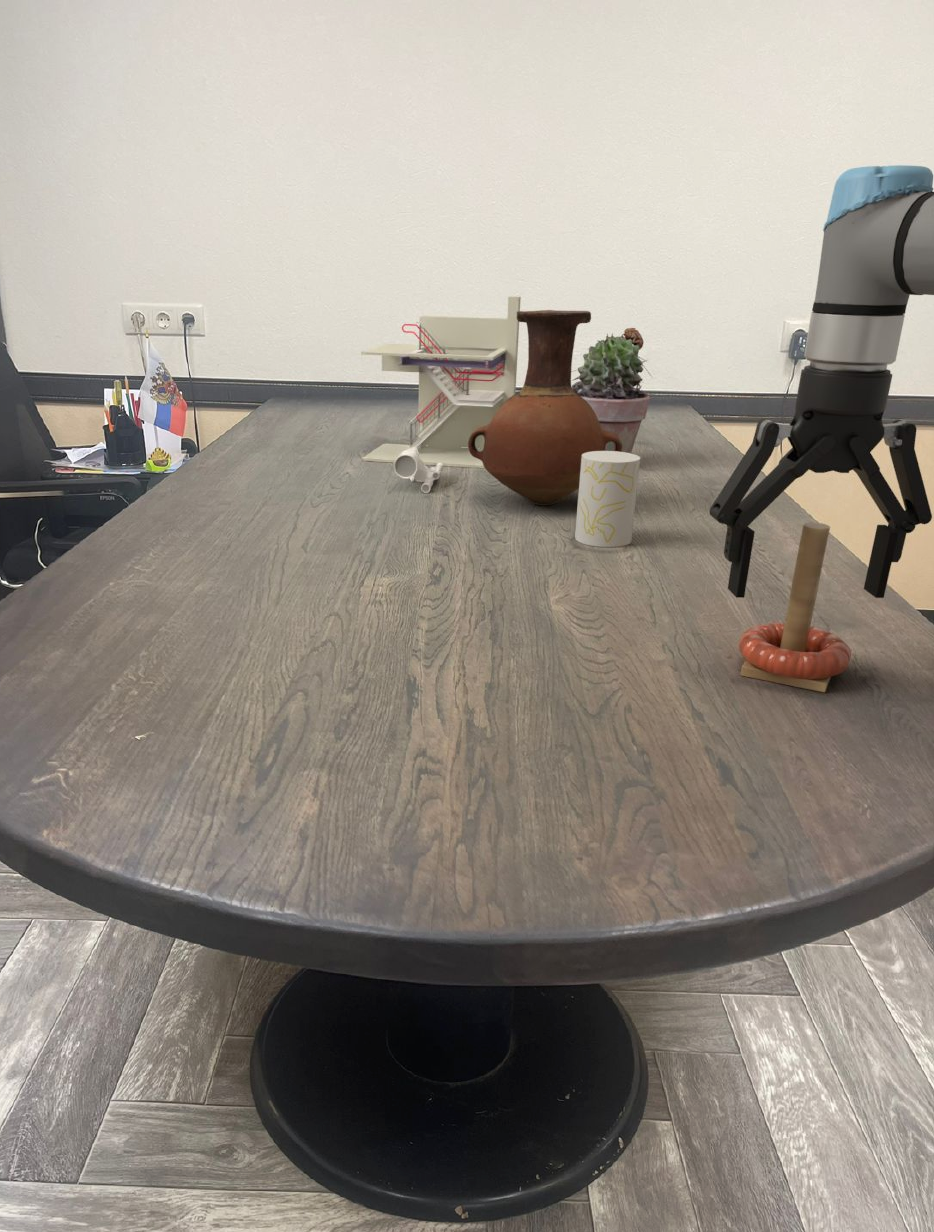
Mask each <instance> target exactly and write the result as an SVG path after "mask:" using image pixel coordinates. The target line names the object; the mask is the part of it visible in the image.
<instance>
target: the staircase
mask: <svg viewBox="0 0 934 1232" xmlns="http://www.w3.org/2000/svg"><path fill="white" fill-rule="evenodd" d="M507 297H508V299H507V318H503V317H474V316H473V317H471V316H437V315H420V316H419V321H416V324H415V323H404V324H403V325H402V326H401V331H402V332H403V333H406V334H408V333H409V334H414V335H415V337H416V338H417V339H418V344H402V343H401V344H400V343H384V344H381V345H378V346H375V347H372V348H369V349H365V350H362V351H361V352H360V354H361V356H362V355H364V356H366V355H367V356H368V355H369V356H381V372H402V373H403V372H404V373H418V411H417V412H418V413H417V414H416V415H415V416H414V417H413V418H412V419H411V420H410V421H409V422H408V425H410V426H409V427H410V428H409V430H410V432H409V444H399V443H383V444H381V445H379V446H378V447H377V448H375V449H373V450H372V451H371V452H369V453H367V454H366V455H364V456H363V457H362V458H361V461H362V462H363V461H364V462H376V463H377V462H378V463H391V464H394V462H395V460H396V459H397V458H398V456H399V455H400V453H402V452H403V451H405V450H408V449H410V448H413V447H417V448H418V450H419V451H418V452H419V458H420V459H421V460H422V461H423V463H424V464H426V466H436V465H437V464H438V463H442V464H443V467H454V468H455V467H456V468H470V469H471V468H472V469H485V467H484V466H483V462H482V461H481V460H480V459H477V458H475V457H473V456H472V455H471V454H470V451H469V448H461V447H468V441H469V438H470V436H471V434H472V433H473V432H474V431H475V430H476V429H477V428H480V427H483V426H487V425H488V424H489V423H490V422H491V420H492V418H493V416H494V415H495V413H496V412H497V410H498V409H499V408H500V406H501V405H502V404H503V403H504V402H505V401H506V400H508V399H509V398H510V397H512V396H513V395H514V394H516V392H517V391H516V390H517V389H516V388H517V371H518V353H519V335H520V322H518V320H517V311H521V296H507ZM418 324H419V325H418ZM405 326H410V327H417V329H418V334H419V335H418V334H417V333H416V332H415V331H412V330H408V331H407V330H404V327H405ZM413 421H415V422H414V423H412V422H413ZM417 422H418V423H417ZM413 426H414V427H415V428H414V431H415V432H414V438H413ZM416 438H417V439H416ZM415 439H416V441H414V440H415ZM413 441H414V442H413ZM484 442H485V440H484V436H483V435H479V436H477V438H476V439H475V446H476V449H477V450H478V451H479V452H480V451H483V449H484ZM420 445H421V446H420ZM426 445H428V446H426ZM478 448H480V449H478Z"/></svg>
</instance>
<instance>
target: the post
mask: <svg viewBox="0 0 934 1232" xmlns="http://www.w3.org/2000/svg"><path fill="white" fill-rule="evenodd" d="M830 529H831V526H830V525H829V524H826V523H822V522H815V521H813V522H812V521H809V522H804V523H803V524H802V529H801V535H800V539H799V544H798V549H797V550H798V551H797V555H796V561H795V566H794V571H793V576H792V582H791V587H790V593H789V598H788V603H787V609H786V614H785V619H784V623H785V624H784V630H783V635H782V641H781V646H780V648H782V649H787V650H792V651H798V652H807V651H806V646H807V641H808V636H809V631H810V626H811V625H812V620H813V615H814V610H815V605H816V600H817V595H818V591H819V586H820V580H821V576H822V570H823V565H824V560H825V556H826V555H825V554H826V550H827V545H828V540H829V536H830ZM811 627H812V626H811ZM740 676H741V677H746V678H751V679H757V680H761V681H766V682H770V683H775V684H776V683H777V684H781V685H786V686H791V687H796V688H800V689H806V690H810V691H815V692H820V693H826V691H827V688H828V687H829V684H830V681H831V678H832V676H831V677H828V678H824V679H795V678H790V677H785V676H780V675H775V674H771V673H769V672H767V671H764V670H762V669H760V668H757V667H755V666H753V665H751V664H750V663H749V662H748V661H747V660H746V659H745V660H744V662H743V664H742V666H741V669H740Z"/></svg>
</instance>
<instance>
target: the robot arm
mask: <svg viewBox="0 0 934 1232" xmlns="http://www.w3.org/2000/svg"><path fill="white" fill-rule="evenodd" d="M933 184H934V173H933V171H932V170H931V169H930V168H929V167H928V166H927V167H926V166H923V165H922V166H921V165H905V164H903V165H898V164H897V165H882V166H880V165H873V166H872V165H871V166H870V165H868V166H858V167H853V168H849V169H847V170H845V171H843V172H842V173H841V174H840V175H839V176H838V178H837V179H836V181H835V183H834V186H833V191H832V196H831V200H830V205H829V209H828V214H827V218H826V221H825V222H824V224H823V229H822V230H823V238H822V245H821V254H820V261H819V266H818V267H819V268H818V276H817V283H816V290H815V295H814V301H813V303H812V309H811V313H810V319H809V325H808V329H807V330H808V331H807V336H806V342H805V348H804V354H803V357H804V358H805V360H806V361H809V365H805V366H804V367H803V369H801V371H800V375H799V383H798V387H797V394H796V400H795V409H794V415H793V417H792V419H791V421H790V423H782V422H780V423H779V422H774V421H773V420H769V419H767V418H761V419H760V420H759V421H757V424H756V428H755V432H754V435H753V439H752V442H751V444H750V445H749V447H748V449H747V450H746V452H745V453H744V455H743V456H742V458H741V460H740V461H739V462H738V465H737V466H736V467H735V469H734V471H733V472H732V473H731V475H730V477H729V478H728V480H727V482H726V483H725V485H724V486H723V487H722V489H721V491H720V492H719V494H718V495H717V497H716V499H715V500H714V502H713V503H712V505H711V506H710V508H709V515H710V516H711V517H712V518H713V519H714V520H715V521H716V522H718V523H719V524H723V525H726V534H725V542H724V548H723V555H724V558H725V559H726V560H727V561H728V562H729V563H731V564H730V570H729V576H728V577H729V578H728V584H727V590H728V591H729V592H730V593H731V594H732V595H733V596H734V597H735V598H737V599H738V598H740V599H741V598H745V595H746V589H747V583H748V577H749V572H750V571H749V570H750V569H749V568H750V563H751V558H752V551H753V545H754V540H755V539H754V538H755V534H756V533H755V530H753V529H752V528H751V527H749V526H750V525H751V524H752V523H753V522H754V521H755V520H756V519H758V517H759V516H760V515H761V514H762V513H763V512H764V511H765V510H766V509H767V508H769V506H770V505H771V504H772V503H773V502H774V501H776V499H777V498H779V496H780V495H782V493H784V491H786V490H787V488H789V486H791V485H792V483H794V481H795V480H797V479H798V478H801V477H803V476H804V475H805V474H806V473H807V472H808V471H811V472H813V473H815V474H824V473H829V472H835V473H839V474H850V472H851V471H853V472H855V474H856V475H857V477H858V478H859V480H860V481H861V483H862V485H863V486H864V488H865V489H866V491H867V493H868V494H869V496H870V497H871V499H872V501H873V502H874V503H875V505H876V506H877V508H878V510H879V511H880V513H881V515H882V516H883V518H884V519H885V521H886V522H887V525H886V524H877V525H876V530H875V534H874V539H873V543H872V548H871V552H870V557H869V562H868V566H867V572H866V574H865V575H866V576H865V580H864V586H863V590H864V591H866V592H867V593H868V594H870V595H871V596H873V597H874V598H876V599H884V598H885V593H886V590H887V585H888V580H889V576H890V572H891V569H892V568H891V567H892V563H899V561H900V560H901V558H902V554H903V551H904V550H903V549H904V546H905V543H906V542H905V541H906V537H907V534H910V533H912V532H913V531H915V529H916V526H918V525H920V524H921V525H928V524H929V523H931V521H932V519H933V514H932V510H931V507H930V503H929V499H928V495H927V491H926V488H925V484H924V480H923V476H922V473H921V468H920V465H919V461H918V457H917V454H916V450H915V447H916V438H917V426H916V425H915V424H913V423H911V422H908V421H905V420H903V419H895V420H893V421H892V422H891V423H883V415H884V413H885V411H886V408H887V404H888V400H889V394H890V389H891V384H892V380H893V373H891V371H892V370H890V369H888V366H889V365H893V363H895V362H896V360H897V356H898V350H899V346H900V341H901V336H902V331H903V327H904V322H905V316H906V315H905V314H906V312H907V306H908V302H909V299H910V295H911V296H924V295H925V296H926V295H927V296H934V187H933ZM786 438H787V440H788V442H789V444H790V446H791V448H790V449H789V450H788V451H787V452H786V453H785V454H784V455H783V456H782V458H780V460H779V461H778V464H777V465H776V466H775V467H774V468H773V470H771V471H770V472H769V473H768V474H767V475H766V476H765V477H763V479H762V480H761V481H760V482H759V483H758V484H757V485H756V486H754V488H753V489H752V490H751V491H750V492H749V490H750V488H751V487H752V485H753V484H754V482H755V481H756V479H757V478H758V476H759V475H760V473H761V472H762V470H763V469H764V468H765V466H766V464H767V462H769V459H771V456H772V454H773V452H774V450H775V448H777V447H780V445H781V444H782V442H783V440H785V439H786ZM883 439H884V440H883ZM882 440H883V442H884V444H885V445H886V446H888V450H889V455H890V458H891V459H890V460H891V462H892V466H893V469H894V474H895V477H896V481H897V484H898V488H899V492H900V496H901V498H902V502H903V505H902V504H901V503H900V501H899V499H898V497H897V496H896V495H895V493H894V491H893V489H892V488H891V487H890V484H889V483H888V482H887V480H886V477H884V475H883V473H882V472H881V468H880V465H879V464H878V463H877V461H876V459H875V457H874V456H873V454H872V451H873V450H874V449H875V448H876V447H877V446H878V444H880V443H881V442H882ZM748 492H749V493H748ZM747 493H748V494H747ZM903 506H904V508H903Z"/></svg>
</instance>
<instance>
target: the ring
mask: <svg viewBox="0 0 934 1232" xmlns="http://www.w3.org/2000/svg"><path fill="white" fill-rule="evenodd" d="M784 624H785V622H767V623H763V624H759V625H755V626H752V627H750V628H748V629H746V631H745V632H744V633H743V635H742V637H741V638H740V640H739V642H738V649H739V653H740V654H741V655H742V656H743V657H744V659H745V661H746V660H747V661H748V662H749V663H750V664H751V665H753V666H755V667H757V668H760V669H762V670H764V671H767V672H769V673H771V674H775V675H780V676H785V677H790V678H795V679H824V678H828V677H831V678H832V677H834V676H836V675H841V674H843V672H845V671H846V670H847V669H848V667H849V664H850V662H851V659H852V649H851V647H850V646H849V645H848V644H847V643H846V642H845V641H844V640H843V639H841V638H840V637H839V636H838V635H836V634H834V633H832V632H829V631H826V630H824V629H821V628H818V627H816V626H810V631H809V636H808V641H807V646H806V651H807V652H798V651H792V650H787V649H782V648H780V646H781V641H782V635H783V630H784Z"/></svg>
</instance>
